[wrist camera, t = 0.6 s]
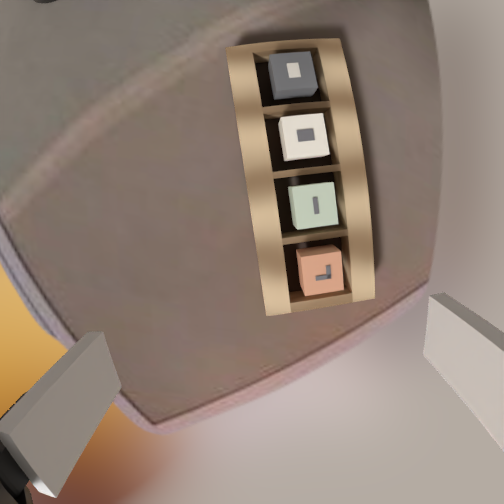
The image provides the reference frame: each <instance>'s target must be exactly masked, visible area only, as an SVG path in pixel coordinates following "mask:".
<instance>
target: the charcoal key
mask: <svg viewBox="0 0 504 504" xmlns="http://www.w3.org/2000/svg"><path fill="white" fill-rule="evenodd" d="M268 69H269V74H270V80H271V85H272V91H273V97H274V100H281V99H291V98H302V97H312V95H313V94H314V92H315V91H316V89H317V88H318V85H317V81H316V76H315V71H314V66H313V62H312V57H311V53H310V51H309V52H293V53H280V54H270V55H269V63H268Z"/></svg>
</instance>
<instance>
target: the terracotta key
mask: <svg viewBox="0 0 504 504" xmlns="http://www.w3.org/2000/svg"><path fill="white" fill-rule="evenodd" d="M296 252H297V261H298V269H299V278H300V285H301V288H302V290H303V293H304V295H305V296H309V295H316V294H322V293H328V292H334V291H340V290H344V285H343V270H342V257H341V251H340V250H339V249H338V248H337V247H335V246H334V245H333V244H330V245H323V246H316V247H309V248H302V249H296Z"/></svg>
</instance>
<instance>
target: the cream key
mask: <svg viewBox="0 0 504 504" xmlns="http://www.w3.org/2000/svg"><path fill="white" fill-rule="evenodd" d="M278 126H279V132H280V138H281V145H282V151H283V157H284V161H290V160H299V159H307V158H317V157H323V156H326V155H329V154H330V153H329V147H328V141H327V135H326V129H325V123H324V117H323V113H319V114H307V115H297V116H287V117H281V118H280V121H279V123H278Z"/></svg>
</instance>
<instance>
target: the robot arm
mask: <svg viewBox="0 0 504 504" xmlns="http://www.w3.org/2000/svg"><path fill="white" fill-rule="evenodd" d="M34 1H35V2H38V3H49V2H53V1H56V0H34ZM423 355H424V356H425V357H426V359H427V360H428V361H429V362H430V363H431V364H432V365H433V367H434V368H435V369H436V370H437V371H438V372H439V373H440V375H441V376H442V377H443V378H444V379H445V380H446V382H447V383H448V384H449V385H450V386H451V387H452V389H453V390H454V391H455V392H456V393H457V394H458V396H459V397H460V398H461V399H462V401H463V402H464V403H465V404H466V405H467V407H468V408H469V409H470V410H471V411H472V412H473V414H474V415H475V416H476V418H477V419H478V420H479V421H480V422H481V424H482V425H483V426H484V427H485V429H486V430H487V431H488V433H489V434H490V435H491V436H492V438H493V439H494V440H495V441H496V443H497V444H498V445H499V447H500V448H501V449H502V451H503V452H504V333H503V332H502V331H500V330H499V329H498V328H496V327H495V326H493V325H492V324H490V323H489V322H488V321H486V320H485V319H483V318H482V317H480V316H479V315H477V314H476V313H474V312H473V311H471V310H470V309H468V308H467V307H465V306H464V305H462V304H461V303H459V302H458V301H456V300H455V299H453V298H452V297H450V296H449V295H447V294H446V293H440V294H435V295H430V296H429V306H428V318H427V327H426V336H425V344H424V351H423ZM121 387H122V386H121V383H120V381H119V378H118V375H117V372H116V370H115V367H114V364H113V361H112V358H111V355H110V352H109V349H108V346H107V343H106V340H105V336H104V333H103V332H87V333H86V334H85V335H84V336H83V337H82V338H81V339H80V340H79V341H78V342H77V343H76V344H75V345H74V346H73V347H72V348H71V349H70V350H69V351H68V352H67V353H66V354H65V355H64V356H62V358H61V359H60V360H59V361H57V362H56V363H55V364H54V365H53V366H52V367H51V368H50V369H49V371H47V372H46V373H45V374H44V375H43V376H42V377H41V378H40V380H39V381H37V382H36V383H35V384H34V386H33V387H32V388H31V389H30V390H29V391H27V392H26V393H24V394H23V395H22V396H21V397H20V398H19V399H18V400H17V401H16V404H13V405H12V406H11V407H10V408H9V409H10V410H7V412H6V413H5V414H4V415H3V416H2V417H1V418H0V504H33V501H32V497H31V493H30V491H29V489H28V488H27V487H26V484H27V483H28V481H29V480H30V481H31V482H32V484H33V485H34V486H35V487H36V489H37V490H38V491H39V492H41V493H44V494H47V495H49V496H52V497H55V498H56V497H57V496H58V494H59V492H60V490H61V489H62V487H63V485H64V483H65V481H66V480H67V478H68V476H69V474H70V473H71V471H72V469H73V467H74V466H75V464H76V462H77V460H78V459H79V457H80V455H81V453H82V452H83V450H84V448H85V447H86V445H87V443H88V442H89V440H90V438H91V436H92V435H93V433H94V431H95V430H96V428H97V426H98V425H99V423H100V421H101V420H102V418H103V416H104V415H105V413H106V411H107V410H108V408H109V407H110V405H111V403H112V402H113V400H114V398H115V397H116V395H117V394H118V392H119V390H120V389H121Z"/></svg>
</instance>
